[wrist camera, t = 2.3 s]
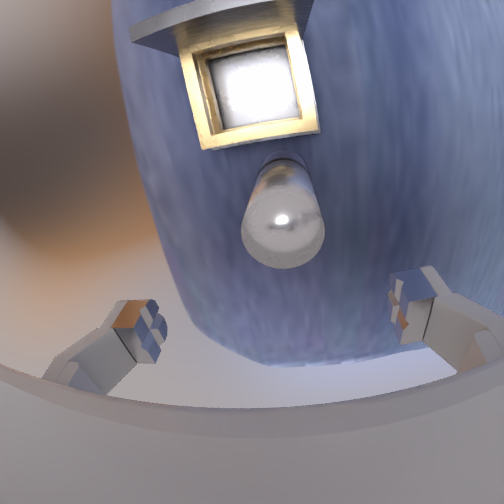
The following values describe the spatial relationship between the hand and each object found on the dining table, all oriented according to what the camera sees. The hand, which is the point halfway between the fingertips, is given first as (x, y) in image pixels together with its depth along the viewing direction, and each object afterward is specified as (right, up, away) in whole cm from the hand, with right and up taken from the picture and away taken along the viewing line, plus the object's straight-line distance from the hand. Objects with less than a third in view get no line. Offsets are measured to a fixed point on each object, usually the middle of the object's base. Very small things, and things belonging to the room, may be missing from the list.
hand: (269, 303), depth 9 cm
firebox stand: (0, +15, +11) cm, 19 cm away
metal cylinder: (+2, +9, +14) cm, 17 cm away
